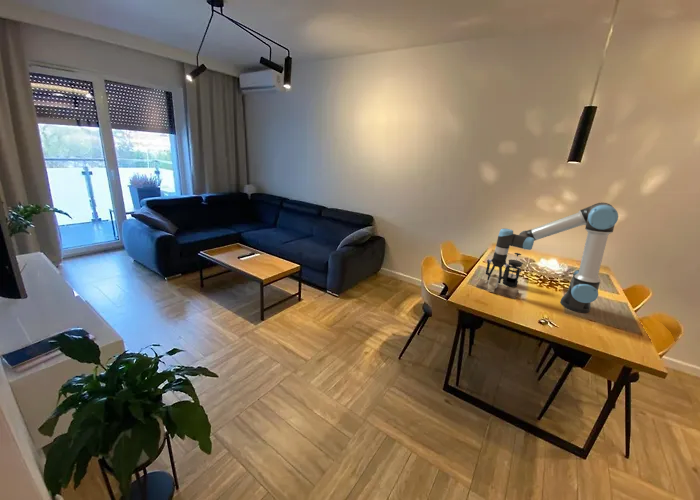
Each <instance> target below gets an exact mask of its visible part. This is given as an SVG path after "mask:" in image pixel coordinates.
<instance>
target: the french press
mask: <svg viewBox="0 0 700 500" xmlns="http://www.w3.org/2000/svg"><path fill="white" fill-rule="evenodd" d="M514 255H515V256H516V258H515V259H513V258H512V259H508V263H507V264H509V265H510V266H509V268H508V270H507V273H506V276H505V278H504V279H502V281H501V282H502V283H501V284H502V285H504V286H507V287H511V288H517V287H518V283H519V278H520V276H519V275H520V273H521V272H522V269H521V268H522V266H523V265H524V262H522V261H520V260H518V257H519V256H521V255H522V253H519V252H514ZM511 268H512V269H513V270H512V269H511ZM515 269H516V270H515ZM514 273H515V274H514Z"/></svg>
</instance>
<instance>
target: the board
mask: <svg viewBox="0 0 700 500" xmlns="http://www.w3.org/2000/svg"><path fill="white" fill-rule="evenodd" d="M488 282H489V281H488V280H486V279H482V278H481V279H480V280H479V281H478V282H477V283H476V285H475V287H476V288H477V289H481V290H484V291H487V289H488ZM519 291H520V290H519V289H517V288H515V287H509V286H506V285H504V284H501V283H500V284H499V283H498V286H497V288H495V290H494V293H495V294H496V293H497V294H496V295H500V296H504V297H506V298H510V299H514V300H516V298H517V297H518V294H519Z"/></svg>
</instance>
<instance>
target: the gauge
mask: <svg viewBox="0 0 700 500" xmlns="http://www.w3.org/2000/svg"><path fill="white" fill-rule="evenodd" d="M498 278H499V274H496V273H492V274H491V277H490V281H489V285H488V289H487V290H486V291H487V292H490V293H494V290H495V287H496V283H497V279H498Z"/></svg>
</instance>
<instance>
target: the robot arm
mask: <svg viewBox="0 0 700 500" xmlns="http://www.w3.org/2000/svg"><path fill="white" fill-rule="evenodd" d="M618 220H619V213H618V210H617V209H616V208H614V207H613V205H612V204H610V203H608V202H598V203H597V202H596V203H594V204H592V205H589V206H587V207H585V208H582V209H580V210H578V212H576V213H573V214H570V215H568V216H567V215H566V216H565V217H562V218H560V219H557V220H553V221H551V222H547V223H545V224H541V225H539V226H536V227H533V228H530V229H528V230H523V231H520V233H519V234H515V233H514V230H513V229H510V228H501V229H500V230H499V231H498V235H497V240H496V245H495V249H494V252H493V256H492V259H487V260H486V263H487V265H486V270H485V275H486V276H487V280H486V281H490V277H491V276H492V274H493V271H494V270H495V268H496V267H497V268H498V275H499V278H498V279H497V283H496V287H495V288H497V286H498V284H500V285H501V282H502V281H501V280H503V279H504V278H505V276H506V273H507V270H508V268H509V266H511V265H509V264H508V263H507V258H508V254H509V249H510V247H514V248H519V249H523V250H528V251H531V250H532V249H533V247H534V243H535V241H538V240H540V239H541V240H542V239H544V238H548V237H550V236H554V235H556V234H560V233H564V232H565V231H569V230H572V229H575V228H578V227H580V226H581V227H582V226H585V231H586V232H587V235H586V239H585V243H584V248H583V252H582V256H581V261H580V266H579V269H577V270H574V272H573V274H572V278H571V280H570V283H569V286H568V289H567V292H566V293H565V294H564V295H563V296H562V297H561V299H560V301H559V302H560V304H561V306H563V308H566V309H568V310H571V311H573V312H577V313H581V314H582V313H585V314H587V313H590V311H591V306H592V305H591V303H594V302H595V301H596V300H597V299H598V296H599V287H600V283H601V278H599V273H600V269H601V265H602V261H603V257H604V253H605V250H606V246H607V241H608V238H609V236H610V234H612V233H614V229H615V225H616V224H617V222H618ZM491 264H492V266H490V265H491ZM504 266H505V267H504ZM490 267H491V269H490ZM503 267H504V272H503ZM509 269H510V268H509ZM488 285H489V282H488Z"/></svg>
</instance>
